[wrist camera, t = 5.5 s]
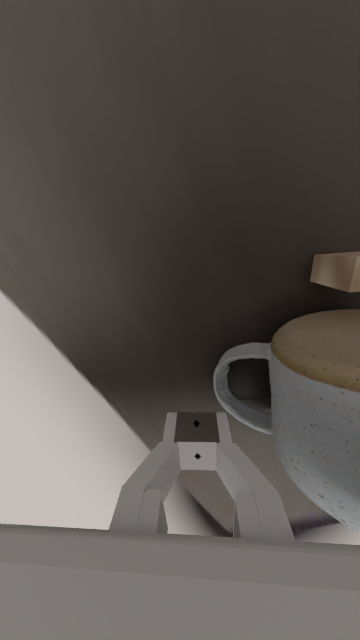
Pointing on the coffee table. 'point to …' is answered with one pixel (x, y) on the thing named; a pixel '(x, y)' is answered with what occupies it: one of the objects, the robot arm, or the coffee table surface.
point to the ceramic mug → (310, 405)
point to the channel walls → (337, 270)
